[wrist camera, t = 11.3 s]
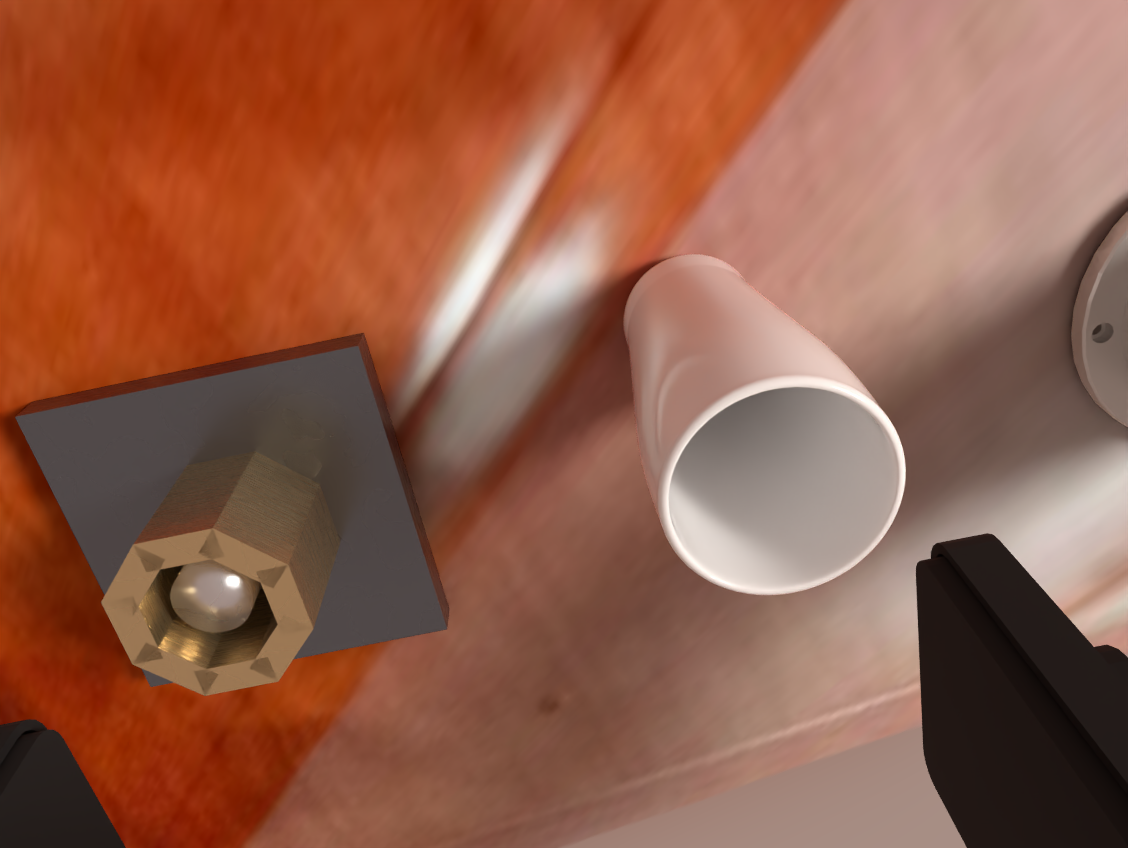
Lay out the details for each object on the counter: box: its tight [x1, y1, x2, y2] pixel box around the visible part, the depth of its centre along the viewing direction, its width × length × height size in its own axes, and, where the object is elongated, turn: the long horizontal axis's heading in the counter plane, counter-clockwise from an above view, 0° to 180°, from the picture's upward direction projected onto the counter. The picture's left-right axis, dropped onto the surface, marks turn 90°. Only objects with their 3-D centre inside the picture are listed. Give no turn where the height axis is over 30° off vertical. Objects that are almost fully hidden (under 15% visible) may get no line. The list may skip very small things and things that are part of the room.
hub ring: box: [101, 451, 340, 696], centre depth 37 cm, size 7×7×6 cm
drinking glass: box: [624, 254, 906, 595], centre depth 31 cm, size 7×7×15 cm
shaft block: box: [15, 333, 449, 687], centre depth 38 cm, size 14×14×6 cm
